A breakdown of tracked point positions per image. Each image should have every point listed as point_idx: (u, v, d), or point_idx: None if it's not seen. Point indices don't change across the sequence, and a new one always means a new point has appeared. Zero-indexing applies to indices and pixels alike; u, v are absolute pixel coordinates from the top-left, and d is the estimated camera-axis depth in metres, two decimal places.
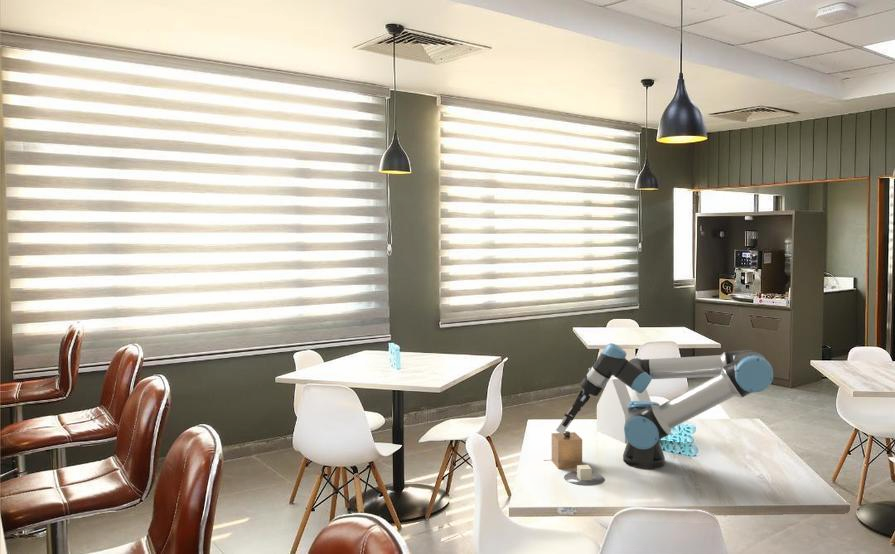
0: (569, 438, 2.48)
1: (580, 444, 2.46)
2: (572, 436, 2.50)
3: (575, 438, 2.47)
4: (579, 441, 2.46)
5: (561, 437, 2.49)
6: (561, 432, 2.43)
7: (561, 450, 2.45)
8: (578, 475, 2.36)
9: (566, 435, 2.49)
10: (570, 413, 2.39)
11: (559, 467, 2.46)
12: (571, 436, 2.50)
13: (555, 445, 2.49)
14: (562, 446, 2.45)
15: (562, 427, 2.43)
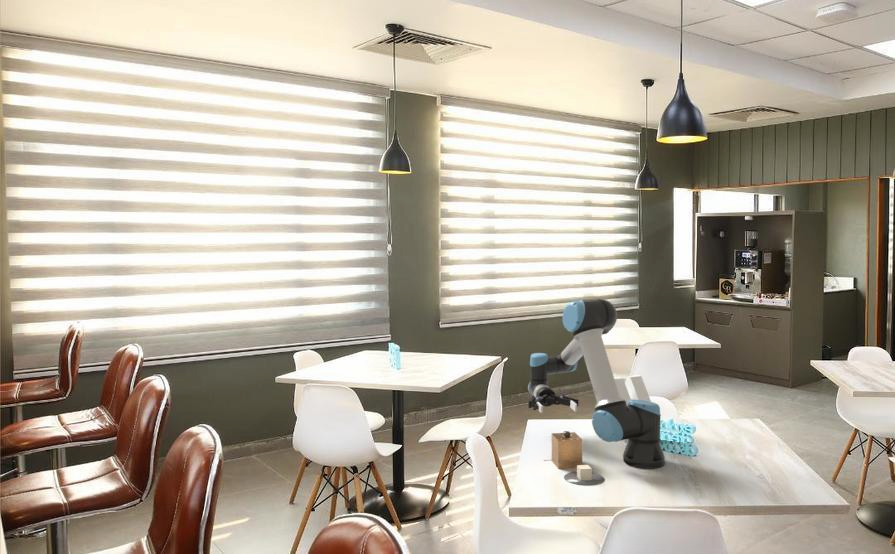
0: (569, 438, 2.48)
1: (580, 444, 2.46)
2: (572, 436, 2.50)
3: (575, 438, 2.47)
4: (579, 441, 2.46)
5: (561, 437, 2.49)
6: (540, 407, 2.59)
7: (561, 450, 2.45)
8: (578, 475, 2.36)
9: (566, 435, 2.49)
10: None
11: (559, 467, 2.46)
12: (571, 436, 2.50)
13: (555, 445, 2.49)
14: (562, 446, 2.45)
15: (539, 408, 2.61)
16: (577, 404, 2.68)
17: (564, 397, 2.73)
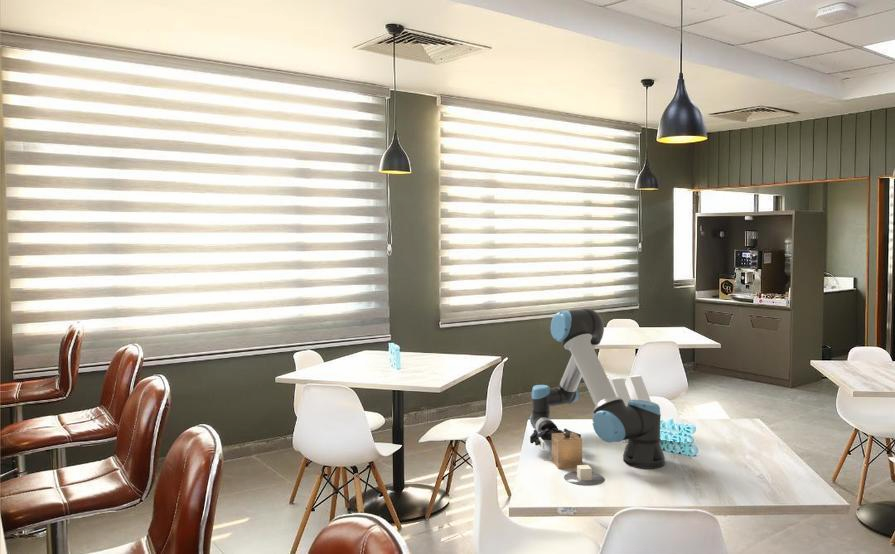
0: (569, 438, 2.48)
1: (580, 444, 2.46)
2: (572, 436, 2.50)
3: (575, 438, 2.47)
4: (579, 441, 2.46)
5: (561, 437, 2.49)
6: (542, 443, 2.56)
7: (561, 450, 2.45)
8: (578, 475, 2.36)
9: (566, 435, 2.49)
10: None
11: (559, 467, 2.46)
12: (571, 436, 2.50)
13: (555, 445, 2.49)
14: (562, 446, 2.45)
15: (541, 443, 2.58)
16: None
17: None
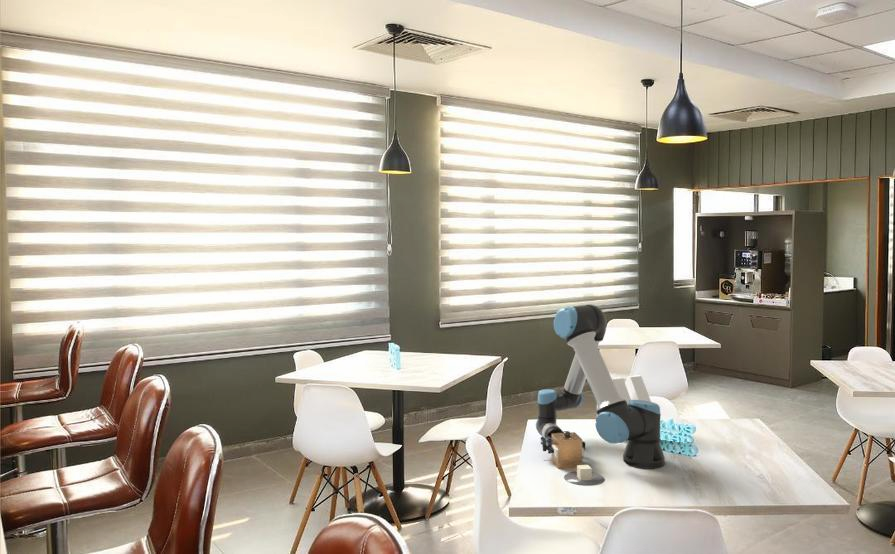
0: (569, 438, 2.48)
1: (580, 444, 2.46)
2: (572, 436, 2.50)
3: (575, 438, 2.47)
4: (579, 441, 2.46)
5: (561, 437, 2.49)
6: (555, 451, 2.46)
7: (561, 450, 2.45)
8: (578, 475, 2.36)
9: (566, 435, 2.49)
10: None
11: (559, 467, 2.46)
12: (571, 436, 2.50)
13: (555, 445, 2.49)
14: (562, 446, 2.45)
15: (554, 452, 2.48)
16: (584, 447, 2.54)
17: None
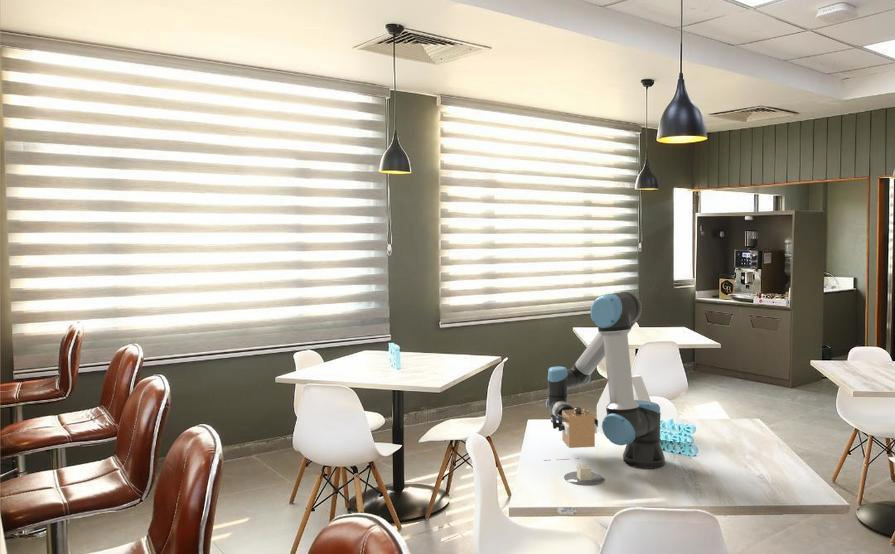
0: (581, 414, 2.35)
1: (592, 420, 2.34)
2: (584, 412, 2.37)
3: (587, 414, 2.35)
4: (591, 417, 2.34)
5: (572, 413, 2.37)
6: (566, 428, 2.33)
7: (572, 427, 2.33)
8: (578, 475, 2.36)
9: (577, 411, 2.36)
10: None
11: (570, 445, 2.33)
12: (583, 412, 2.37)
13: (566, 422, 2.37)
14: (573, 422, 2.33)
15: (565, 429, 2.35)
16: (596, 424, 2.41)
17: None
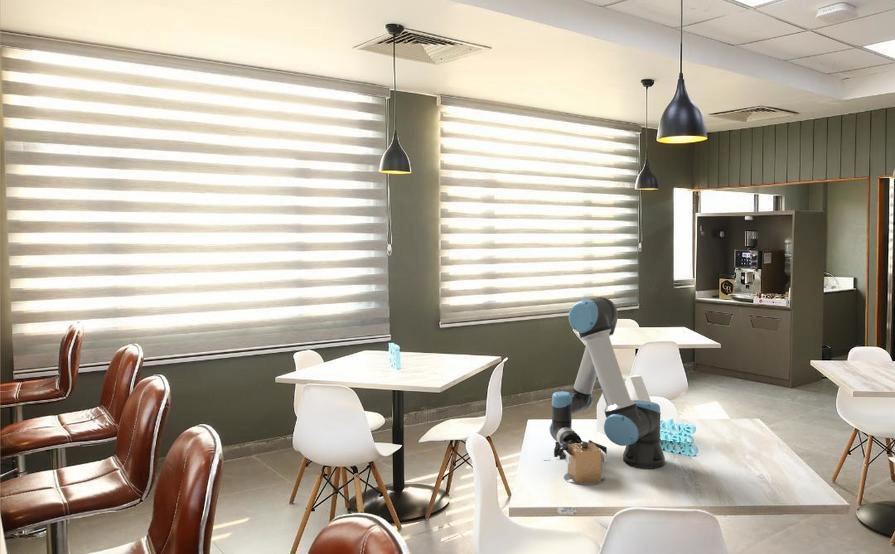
0: (587, 449, 2.33)
1: (599, 456, 2.31)
2: (590, 447, 2.35)
3: (593, 449, 2.33)
4: (598, 452, 2.31)
5: (579, 448, 2.34)
6: (568, 457, 2.32)
7: (578, 462, 2.31)
8: None
9: (584, 446, 2.34)
10: None
11: (576, 480, 2.31)
12: (589, 447, 2.35)
13: (572, 456, 2.34)
14: (580, 458, 2.31)
15: (566, 457, 2.33)
16: (605, 452, 2.40)
17: None
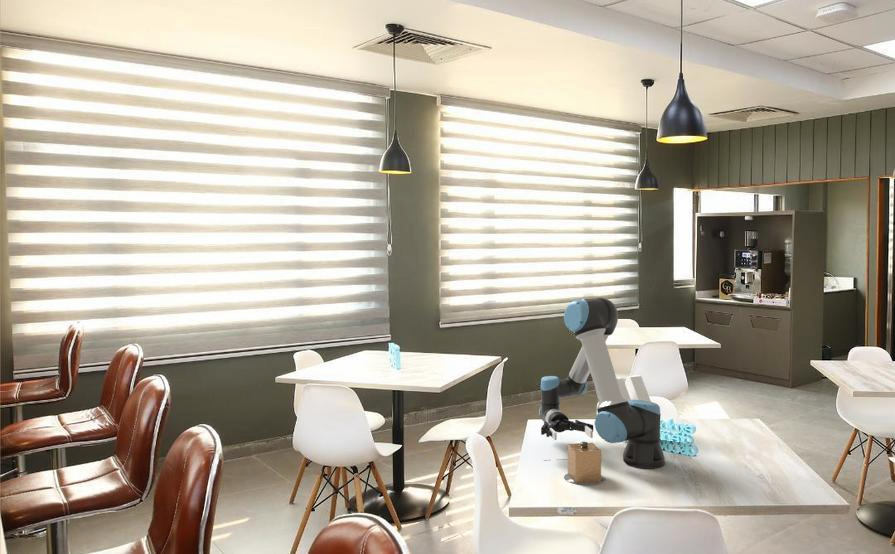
0: (587, 449, 2.33)
1: (599, 456, 2.31)
2: (590, 447, 2.35)
3: (593, 449, 2.33)
4: (598, 452, 2.31)
5: (579, 448, 2.34)
6: (554, 434, 2.47)
7: (578, 462, 2.31)
8: None
9: (584, 446, 2.34)
10: None
11: (576, 480, 2.31)
12: (589, 447, 2.35)
13: (572, 456, 2.34)
14: (580, 458, 2.31)
15: (552, 434, 2.48)
16: (592, 430, 2.55)
17: (578, 422, 2.61)
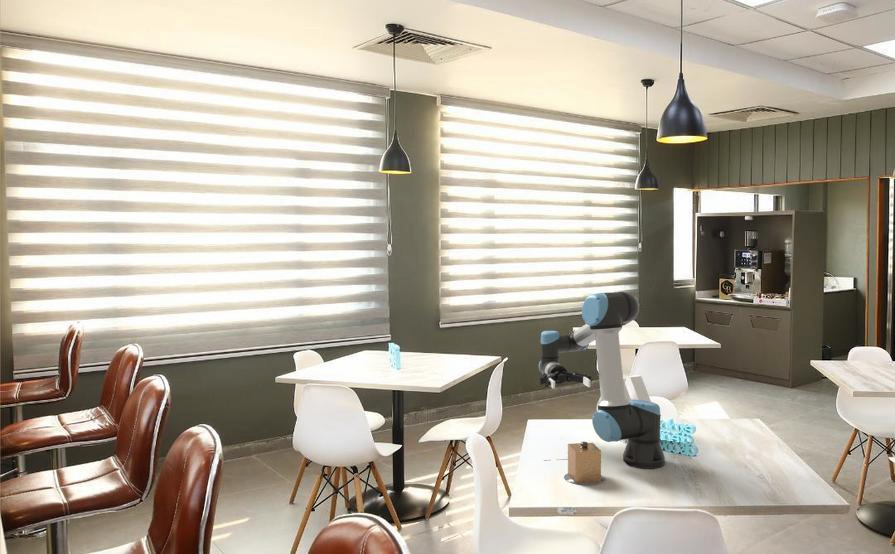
0: (587, 449, 2.33)
1: (599, 456, 2.31)
2: (590, 447, 2.35)
3: (593, 449, 2.33)
4: (598, 452, 2.31)
5: (579, 448, 2.34)
6: (552, 383, 2.52)
7: (578, 462, 2.31)
8: None
9: (584, 446, 2.34)
10: None
11: (576, 480, 2.31)
12: (589, 447, 2.35)
13: (572, 456, 2.34)
14: (580, 458, 2.31)
15: (551, 384, 2.54)
16: None
17: (576, 374, 2.66)
